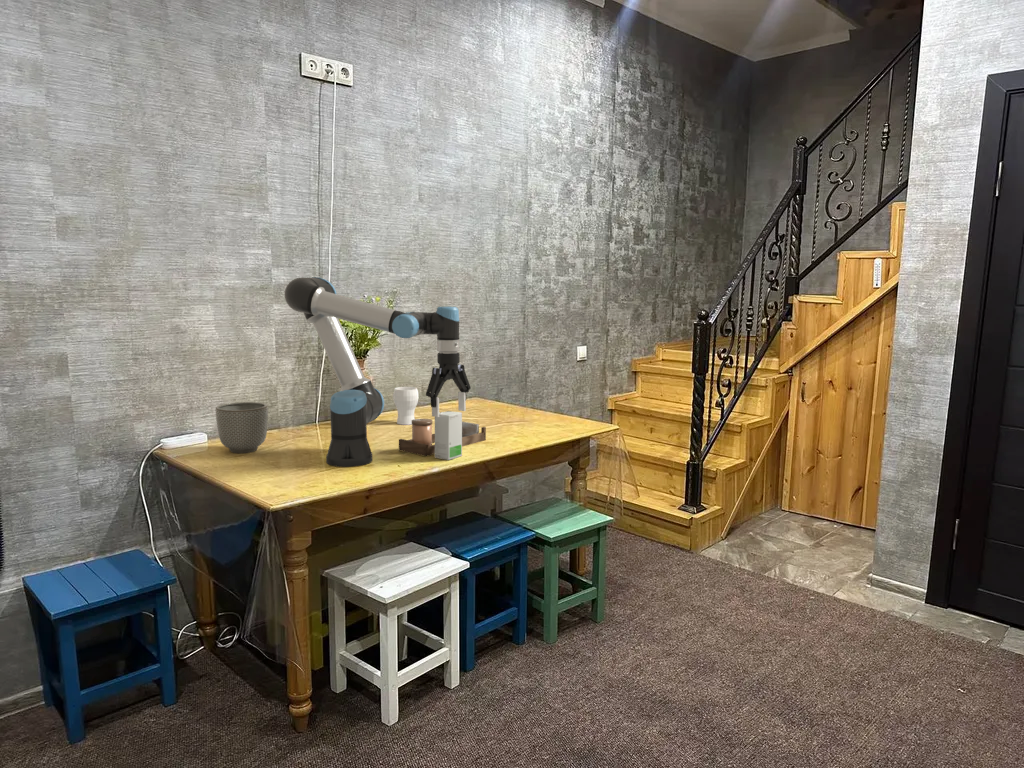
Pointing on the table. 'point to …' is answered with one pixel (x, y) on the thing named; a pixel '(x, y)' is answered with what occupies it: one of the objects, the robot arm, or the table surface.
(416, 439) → the jar
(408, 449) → the frame
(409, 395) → the cup
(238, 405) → the planter
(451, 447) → the skincare box
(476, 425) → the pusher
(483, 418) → the table surface
